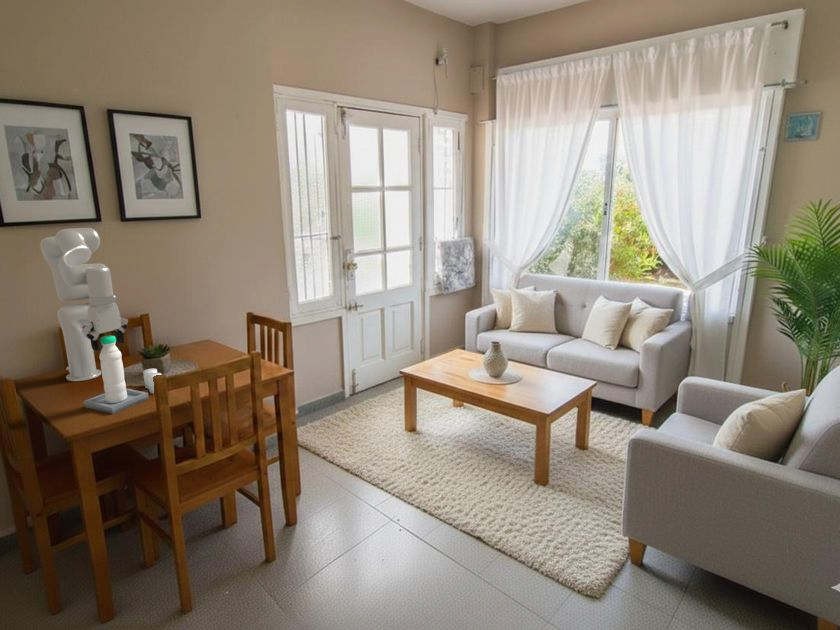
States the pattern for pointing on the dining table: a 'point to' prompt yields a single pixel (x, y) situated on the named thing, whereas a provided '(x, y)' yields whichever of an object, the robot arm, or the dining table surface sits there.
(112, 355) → the water bottle
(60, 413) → the dining table surface
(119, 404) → the tray
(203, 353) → the dining table surface
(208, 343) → the dining table surface
